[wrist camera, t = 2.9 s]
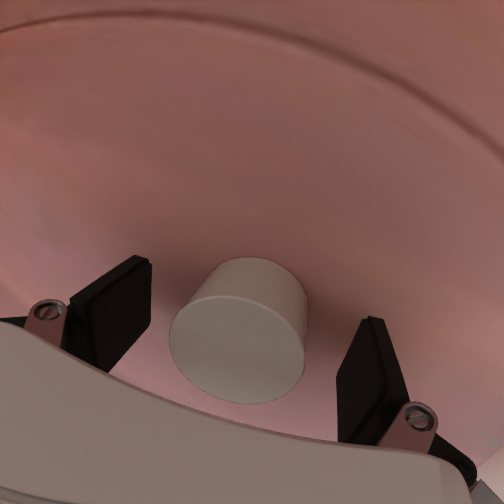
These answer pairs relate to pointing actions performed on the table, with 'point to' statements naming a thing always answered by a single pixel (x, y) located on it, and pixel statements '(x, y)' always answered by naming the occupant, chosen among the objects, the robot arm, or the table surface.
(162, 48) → the table surface
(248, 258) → the grey squat cylinder
